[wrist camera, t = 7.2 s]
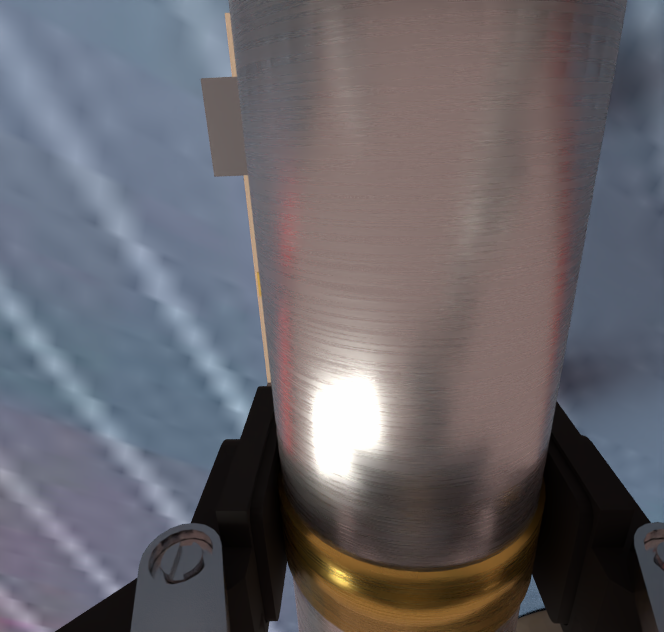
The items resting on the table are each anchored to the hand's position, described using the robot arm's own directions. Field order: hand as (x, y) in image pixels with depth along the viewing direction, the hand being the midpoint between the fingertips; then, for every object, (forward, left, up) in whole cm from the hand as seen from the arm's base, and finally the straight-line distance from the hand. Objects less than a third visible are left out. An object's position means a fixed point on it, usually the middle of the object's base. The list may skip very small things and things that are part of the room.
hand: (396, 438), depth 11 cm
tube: (0, 0, -1) cm, 1 cm away
